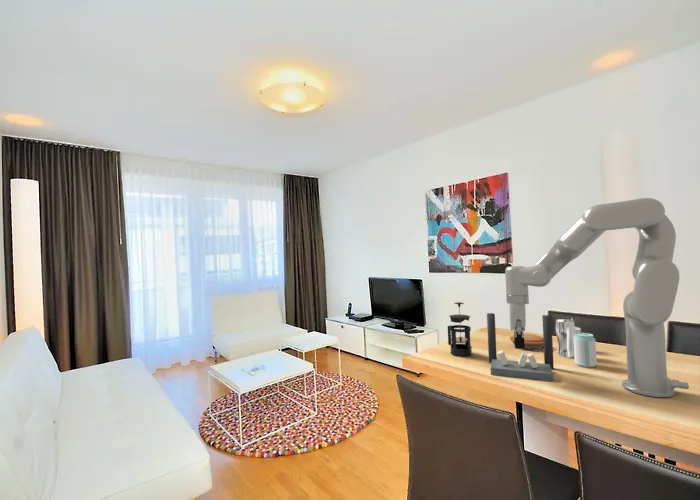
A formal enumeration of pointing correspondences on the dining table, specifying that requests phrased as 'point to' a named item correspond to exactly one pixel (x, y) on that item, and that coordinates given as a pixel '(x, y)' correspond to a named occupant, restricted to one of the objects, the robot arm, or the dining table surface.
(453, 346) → the french press
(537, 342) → the pie
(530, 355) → the paddle
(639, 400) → the dining table surface
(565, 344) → the beer glass
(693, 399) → the dining table surface
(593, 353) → the can
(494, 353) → the rod
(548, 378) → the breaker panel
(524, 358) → the middle paddle
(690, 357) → the dining table surface
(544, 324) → the rod
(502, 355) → the paddle
